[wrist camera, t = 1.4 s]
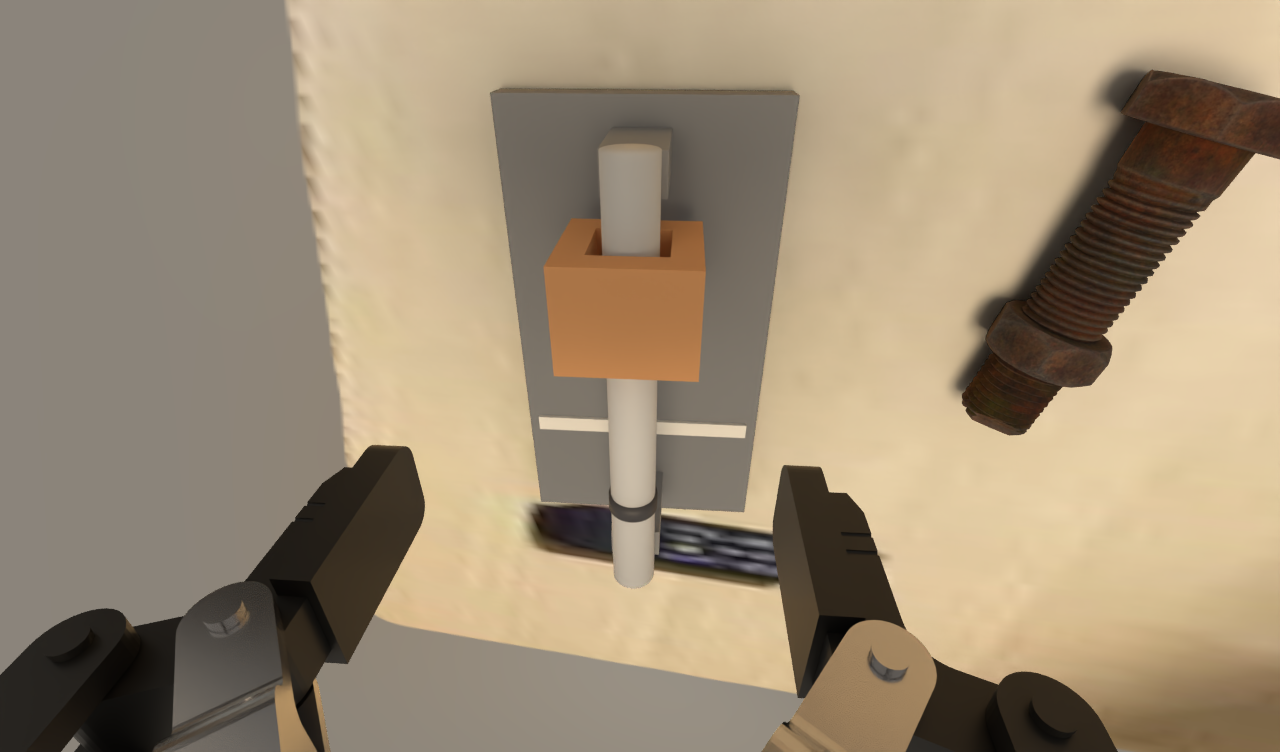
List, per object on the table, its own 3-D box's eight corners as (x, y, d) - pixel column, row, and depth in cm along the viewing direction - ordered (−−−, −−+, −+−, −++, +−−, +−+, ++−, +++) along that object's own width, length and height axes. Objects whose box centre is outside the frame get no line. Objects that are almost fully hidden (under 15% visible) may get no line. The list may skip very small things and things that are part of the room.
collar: (571, 218, 22) (543, 266, 18) (702, 221, 22) (705, 271, 18) (577, 313, 24) (553, 376, 20) (697, 316, 24) (698, 381, 20)
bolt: (947, 372, 32) (1143, 71, 23) (1045, 418, 30) (1296, 110, 21) (928, 417, 27) (1161, 66, 19) (1041, 475, 26) (1355, 115, 17)
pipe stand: (500, 88, 24) (425, 118, 17) (793, 90, 23) (837, 122, 16) (546, 484, 36) (512, 595, 29) (742, 494, 35) (754, 611, 28)
